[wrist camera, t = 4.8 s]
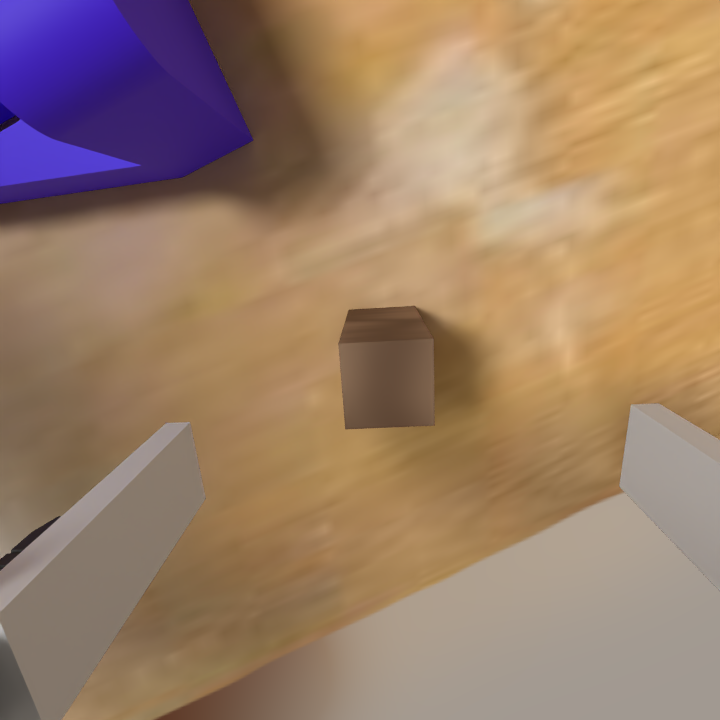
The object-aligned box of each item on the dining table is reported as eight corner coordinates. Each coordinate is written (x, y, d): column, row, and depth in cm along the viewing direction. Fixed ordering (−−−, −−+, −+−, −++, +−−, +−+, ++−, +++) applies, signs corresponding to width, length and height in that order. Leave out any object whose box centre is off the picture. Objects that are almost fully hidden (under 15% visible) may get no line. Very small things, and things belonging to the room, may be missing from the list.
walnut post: (353, 371, 26) (345, 429, 18) (349, 309, 25) (338, 343, 17) (416, 368, 26) (434, 425, 18) (414, 306, 25) (433, 338, 17)
